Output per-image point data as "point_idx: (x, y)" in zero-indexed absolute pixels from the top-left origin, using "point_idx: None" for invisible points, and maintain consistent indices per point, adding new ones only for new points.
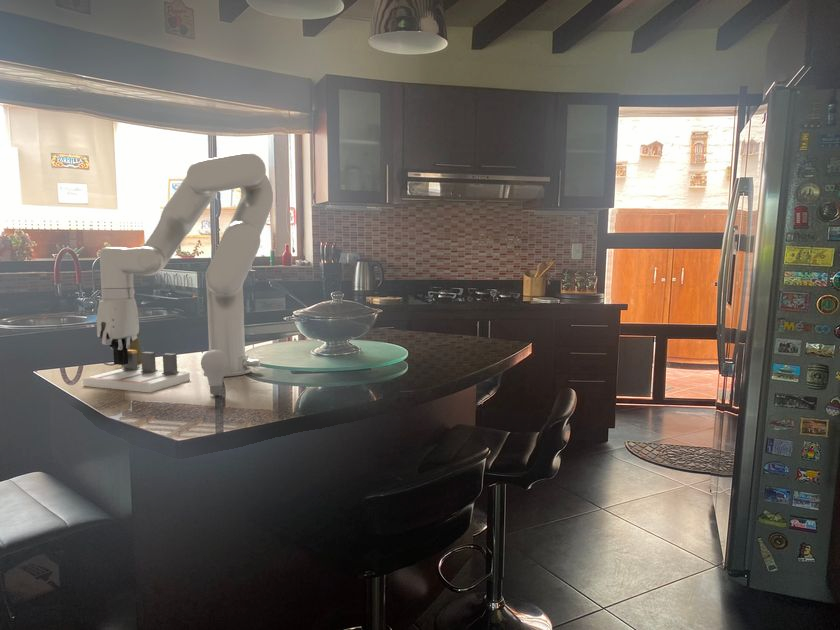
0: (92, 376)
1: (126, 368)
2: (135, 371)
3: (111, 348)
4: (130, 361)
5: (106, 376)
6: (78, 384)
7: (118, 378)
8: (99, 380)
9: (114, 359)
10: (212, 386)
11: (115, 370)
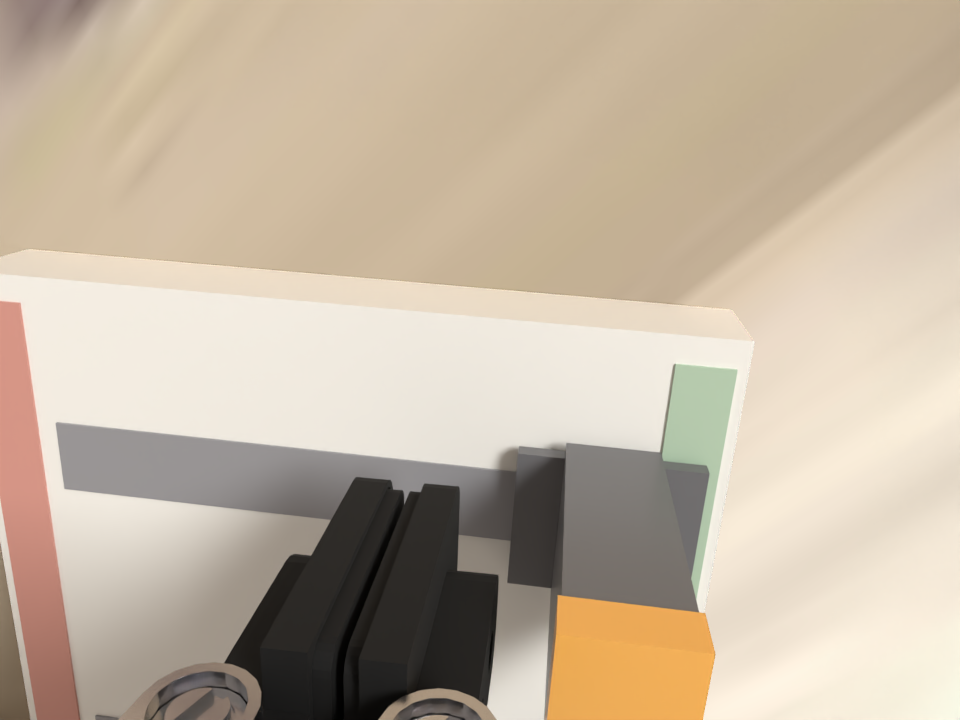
0: (76, 317)
1: (560, 492)
2: (520, 636)
3: (153, 694)
4: (549, 641)
5: (145, 499)
6: (58, 111)
7: (135, 685)
8: (6, 526)
9: (283, 572)
10: None
11: (506, 332)
